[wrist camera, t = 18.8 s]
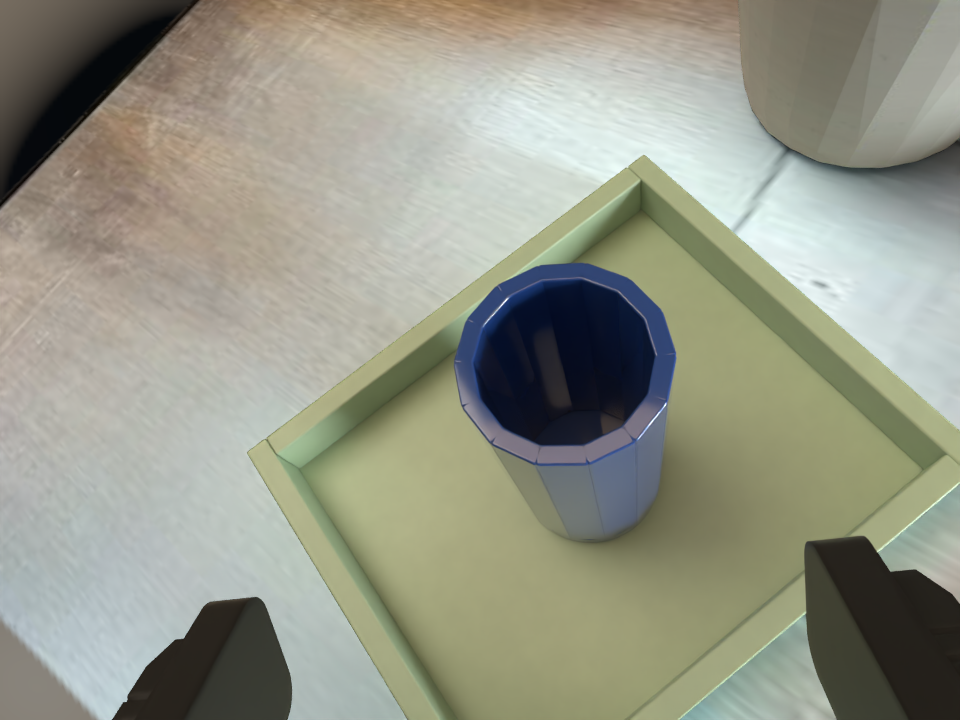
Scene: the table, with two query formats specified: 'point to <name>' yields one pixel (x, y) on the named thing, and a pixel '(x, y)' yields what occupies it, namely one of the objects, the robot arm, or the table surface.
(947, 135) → the potted plant
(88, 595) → the table surface
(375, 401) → the serving tray
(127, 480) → the table surface
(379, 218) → the table surface
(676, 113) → the table surface
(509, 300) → the beaker
